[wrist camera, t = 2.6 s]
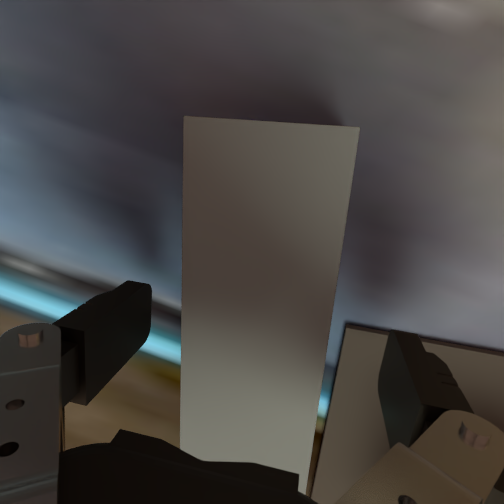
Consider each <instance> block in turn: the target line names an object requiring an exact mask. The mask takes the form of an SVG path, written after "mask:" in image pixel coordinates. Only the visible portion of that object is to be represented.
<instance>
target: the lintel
mask: <svg viewBox="0 0 504 504" xmlns="http://www.w3.org/2000/svg"><path fill="white" fill-rule="evenodd" d="M359 132H360V127H348V126H332V125H317V124H301V123H286V122H270V121H255V120H239V119H224V118H209V117H193V116H184V126H183V220H182V314H181V408H180V449H181V450H183V451H184V452H186V453H188V454H190V455H192V456H194V457H196V458H198V459H200V460H203V461H221V462H253V463H257V464H261V465H265V466H269V467H273V468H277V469H281V470H285V471H289V472H293V473H297V474H299V486H298V491H299V492H301V493H303V494H305V493H306V486H307V479H308V473H309V466H310V459H311V453H312V446H313V439H314V433H315V426H316V419H317V412H318V406H319V399H320V392H321V386H322V379H323V372H324V366H325V359H326V352H327V346H328V339H329V332H330V326H331V319H332V312H333V306H334V299H335V292H336V286H337V279H338V272H339V265H340V259H341V252H342V245H343V239H344V232H345V225H346V219H347V212H348V205H349V199H350V192H351V185H352V179H353V172H354V165H355V159H356V152H357V145H358V139H359Z"/></svg>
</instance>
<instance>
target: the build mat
mask: <svg viewBox="0 0 504 504" xmlns="http://www.w3.org/2000/svg"><path fill="white" fill-rule="evenodd" d="M389 333H390V332H386V331H381V330H375V329H370V328H364V327H359V326H353V325H348V324H346V327H345V332H344V337H343V341H342V346H341V351H340V356H339V361H338V366H337V371H336V376H335V380H334V385H333V390H332V395H331V400H330V405H329V410H328V414H327V419H326V424H325V429H324V434H323V439H322V444H321V448H320V453H319V458H318V463H317V468H316V473H315V478H314V482H313V487H312V492H311V497H310V498H311V499H312V500H314V501H315V502H317V503H318V504H334V503H335V502H336V501H337V500H338V499H339V498H340V497H341V496H342V495H343V494H344V493H345V492H347V491H348V490H349V489H350V488H351V487H352V486H353V485H354V484H355V483H356V482H357V481H358V480H359V479H360V478H361V477H362V476H363V475H364V474H365V473H366V472H367V471H368V470H369V469H370V468H371V467H372V466H374V465H375V464H376V463H377V462H378V461H379V460H380V459H381V458H382V457H383V456H384V455H385V454H386V453H387V452H388V451H389V450H390V446H389V441H388V437H387V432H386V427H385V423H384V418H383V413H382V409H381V404H380V399H379V395H378V377H379V371H380V367H381V363H382V359H383V355H384V351H385V347H386V343H387V339H388V335H389ZM420 340H421V342H422V344H423V346H424V348H425V350H426V352H430V353H434V354H435V355H437V356H438V357H439V358H440V359H441V360H442V361H444V362H445V363H446V364H447V366H448V367H449V369H450V371H451V373H452V375H453V378H455V380H456V382H457V384H458V387H459V388H460V389H461V391H462V392H463V394H464V396H465V398H466V400H467V401H468V403H469V405H470V407H471V408H472V410H473V412H474V414H475V415H477V416H480V417H482V418H484V419H486V420H487V421H489V422H491V423H492V424H493V425H495V426H496V427H497V428H499V429H500V430H501V431H502V432H503V433H504V353H502V352H496V351H491V350H485V349H480V348H474V347H469V346H463V345H458V344H452V343H447V342H441V341H436V340H430V339H425V338H420Z"/></svg>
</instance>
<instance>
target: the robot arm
mask: <svg viewBox="0 0 504 504" xmlns="http://www.w3.org/2000/svg"><path fill="white" fill-rule="evenodd" d="M151 302H152V289H151V286H150V285H149V284H146V283H140V282H135V281H130V280H128V281H126V282H124V283H123V284H121V285H120V286H118V287H117V288H115V289H114V290H112V291H109V292H106V293H103V294H99V295H96V296H95V297H93V298H92V299H90V300H88V301H87V302H86V304H82V305H81V306H79V307H78V308H77V309H74V310H73V311H71V312H70V313H68V314H67V315H65V316H64V317H62V318H60V319H59V320H57V321H56V322H54V323H53V324H49V323H30V324H24V325H20V326H17V327H14V328H12V329H10V330H8V331H6V332H5V333H4V334H2V336H1V337H0V504H318V503H317V502H315V501H314V500H312V499H311V498H309V497H308V496H306V495H305V494H303V493H301V492H299V491H298V486H299V474H297V473H293V472H289V471H285V470H281V469H277V468H273V467H269V466H265V465H261V464H257V463H253V462H221V461H203V460H200V459H198V458H196V457H194V456H192V455H190V454H188V453H186V452H184V451H183V450H181V449H179V448H177V447H175V446H173V445H171V444H169V443H168V442H166V441H164V440H162V439H158V438H154V437H150V436H146V435H142V434H138V433H134V432H130V431H126V430H122V429H120V430H119V431H118V433H117V434H116V436H115V437H114V438H113V440H112V441H111V442H110V443H96V444H89V445H83V446H79V447H76V448H72V449H69V450H66V451H65V409H64V406H65V405H66V404H67V403H69V402H73V403H77V404H81V405H85V406H87V405H88V403H89V402H90V401H91V400H92V399H93V398H94V397H95V396H96V395H97V394H98V393H99V392H100V391H101V389H102V388H103V387H104V386H105V385H106V384H107V383H108V382H109V381H110V380H111V379H112V378H113V377H114V375H115V374H116V373H117V372H118V371H119V370H120V369H121V368H122V367H123V366H124V365H125V364H126V363H127V361H128V360H129V359H130V358H131V357H132V356H133V355H134V354H135V353H136V352H137V351H138V350H139V349H140V347H141V346H142V345H143V344H144V343H145V342H146V340H147V338H148V335H149V332H150V327H151ZM378 395H379V399H380V404H381V409H382V413H383V418H384V423H385V427H386V432H387V437H388V441H389V446H390V450H389V451H388V452H387V453H386V454H385V455H384V456H383V457H382V458H381V459H380V460H379V461H378V462H377V463H376V464H375V465H374V466H372V467H371V468H370V469H369V470H368V471H367V472H366V473H365V474H364V475H363V476H362V477H361V478H360V479H359V480H358V481H357V482H356V483H355V484H354V485H353V486H352V487H351V488H350V489H349V490H348V491H347V492H345V493H344V494H343V495H342V496H341V497H340V498H339V499H338V500H337V501H336V502H335V503H334V504H504V433H503V432H502V431H501V430H500V429H499V428H497V427H496V426H495V425H493V424H492V423H491V422H489V421H487V420H486V419H484V418H482V417H480V416H477V415H475V414H474V412H473V410H472V408H471V407H470V405H469V403H468V401H467V400H466V398H465V396H464V394H463V392H462V391H461V389H460V388H459V387H458V384H457V382H456V380H455V378H453V375H452V373H451V371H450V369H449V367H448V366H447V364H446V363H445V362H444V361H442V360H441V359H440V358H439V357H438V356H437V355H435V354H434V353H430V352H426V350H425V348H424V346H423V344H422V342H421V340H420V338H419V336H418V335H417V334H414V333H409V332H403V331H398V330H391V331H390V333H389V335H388V339H387V343H386V347H385V351H384V355H383V359H382V363H381V367H380V371H379V377H378Z"/></svg>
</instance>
